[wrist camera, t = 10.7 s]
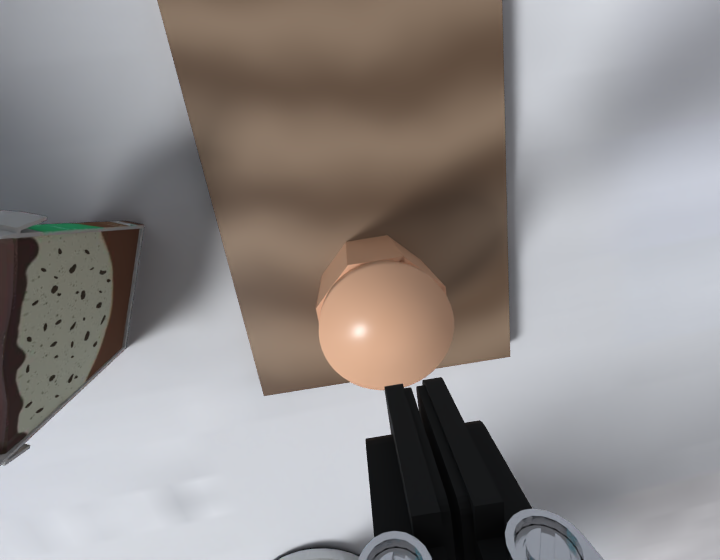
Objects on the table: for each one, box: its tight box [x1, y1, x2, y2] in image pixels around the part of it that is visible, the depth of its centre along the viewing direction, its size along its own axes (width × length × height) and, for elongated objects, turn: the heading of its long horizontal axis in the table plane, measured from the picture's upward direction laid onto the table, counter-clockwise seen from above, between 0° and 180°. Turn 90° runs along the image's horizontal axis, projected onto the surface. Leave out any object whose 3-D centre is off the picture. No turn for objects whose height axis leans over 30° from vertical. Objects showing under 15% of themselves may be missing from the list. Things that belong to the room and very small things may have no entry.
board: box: [157, 0, 510, 396], centre depth 22 cm, size 26×18×2 cm
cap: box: [316, 235, 454, 390], centre depth 20 cm, size 6×6×7 cm
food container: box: [0, 210, 144, 466], centre depth 19 cm, size 12×6×10 cm, turn 162°
